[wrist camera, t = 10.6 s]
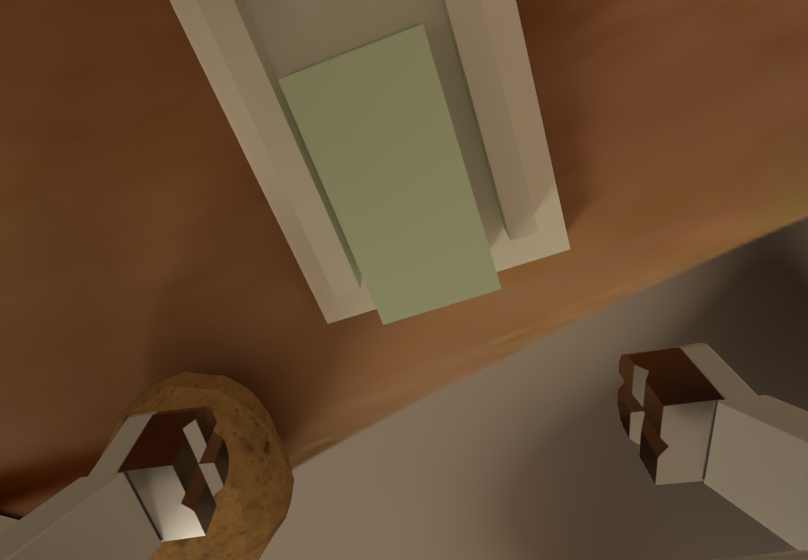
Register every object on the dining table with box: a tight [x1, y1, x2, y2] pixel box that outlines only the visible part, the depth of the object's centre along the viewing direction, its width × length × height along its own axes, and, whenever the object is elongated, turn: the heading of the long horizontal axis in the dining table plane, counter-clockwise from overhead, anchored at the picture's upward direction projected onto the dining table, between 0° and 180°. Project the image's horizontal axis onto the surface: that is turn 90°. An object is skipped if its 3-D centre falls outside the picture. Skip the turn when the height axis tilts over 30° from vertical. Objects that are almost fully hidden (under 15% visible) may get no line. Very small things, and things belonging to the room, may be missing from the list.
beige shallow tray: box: [170, 0, 570, 324], centre depth 19 cm, size 18×12×6 cm, turn 19°
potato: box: [100, 372, 294, 560], centre depth 26 cm, size 10×14×8 cm
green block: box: [278, 23, 501, 325], centre depth 20 cm, size 10×5×4 cm, turn 19°
